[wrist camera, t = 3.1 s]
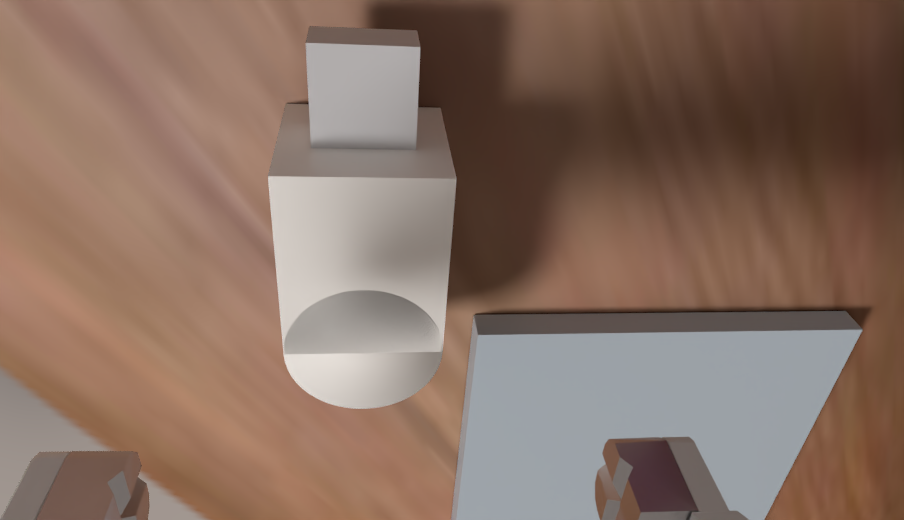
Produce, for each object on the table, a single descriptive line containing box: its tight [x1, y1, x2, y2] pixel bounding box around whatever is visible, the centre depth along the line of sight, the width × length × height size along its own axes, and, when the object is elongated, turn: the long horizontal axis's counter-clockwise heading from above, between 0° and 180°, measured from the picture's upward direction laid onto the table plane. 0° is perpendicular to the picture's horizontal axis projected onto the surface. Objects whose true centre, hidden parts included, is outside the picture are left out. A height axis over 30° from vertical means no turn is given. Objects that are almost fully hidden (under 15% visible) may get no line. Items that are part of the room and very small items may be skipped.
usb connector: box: [268, 26, 457, 409], centre depth 18 cm, size 9×4×4 cm, turn 176°
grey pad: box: [451, 311, 863, 520], centre depth 27 cm, size 13×13×1 cm
